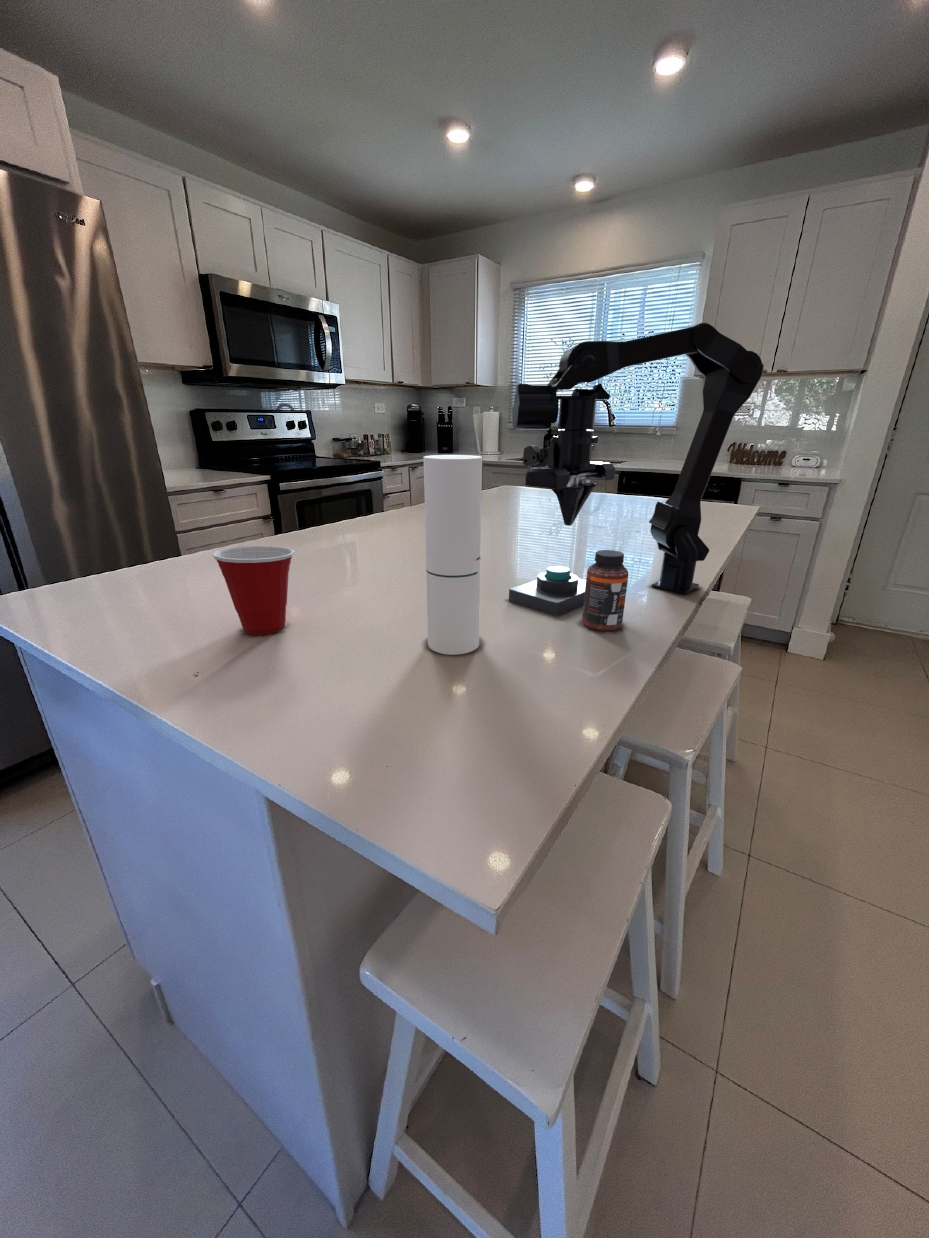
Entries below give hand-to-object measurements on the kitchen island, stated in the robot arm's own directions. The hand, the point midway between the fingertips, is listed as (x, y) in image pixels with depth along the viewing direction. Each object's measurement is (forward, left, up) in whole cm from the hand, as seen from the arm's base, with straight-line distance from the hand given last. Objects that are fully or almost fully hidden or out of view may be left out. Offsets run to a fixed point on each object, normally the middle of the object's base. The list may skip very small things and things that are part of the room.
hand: (568, 525), depth 89 cm
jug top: (+5, +2, -12) cm, 13 cm away
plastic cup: (+47, -21, -12) cm, 53 cm away
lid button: (+5, +2, -8) cm, 10 cm away
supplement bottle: (+10, +14, -12) cm, 21 cm away
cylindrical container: (+31, +3, -12) cm, 33 cm away
